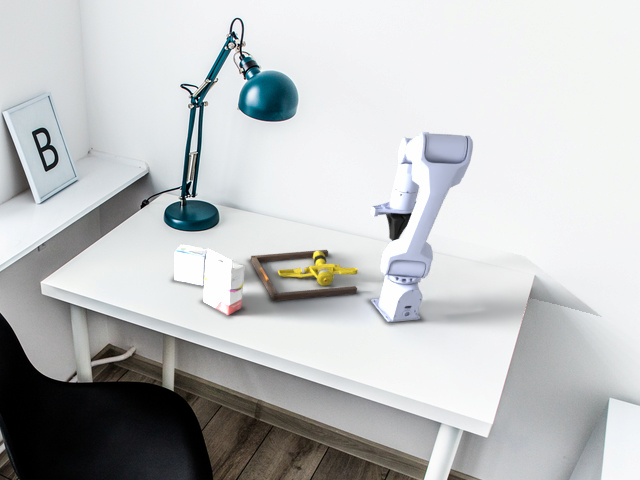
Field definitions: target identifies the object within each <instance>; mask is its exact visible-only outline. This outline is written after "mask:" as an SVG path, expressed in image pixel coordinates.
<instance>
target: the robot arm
mask: <svg viewBox="0 0 640 480" xmlns="http://www.w3.org/2000/svg"><path fill="white" fill-rule="evenodd" d="M473 150H474V141H473V139H472V138H471V136H470V135H461V134H449V133H430V132H429V131H421V132H420V133H419V134H417V135H416V136H415V137H414V138H409V137H406V136H404V137H403V138H402V139H401V141H400V144H399V148H398V153H397V159H398V160H397V161H398V165H397V170H396V174H395V179H394V183H393V187H392V191H391V196H390V200H389V201H388V202H385V203H381V204H377V205H371V209H370V214H371V216H373V217H375V218H376V217H379V216H384V215H385V216H386V220H387V223H388V235H389V236H388V239H390V240H391V241H390V242H388V245H387V246H386V247H385V249H384V250H383V251H382V255H381V260H380V273H382V275H383V276H384V279H383V283H382V287H381V292H380V295H379V298H372V299H371V303H372V304H373V306H374V307H375V308H376V309H377V310H378V312H379V313H380V314H381V315H382V317H383V319H384V320H385V321H386V322H388V323H394V322H404V321H415V320H417V321H418V320H420V319H421V316H420V314H419V311H420V308H421V304H422V301H423V293H422V291H421V290H420V287H419V283H421V280H422V279H426V277H427V276H428V275H430V274H429V273H430V271H431V267H432V262H433V260H434V253H433V248H432V244H430V243H429V242H427V241H428V238H429V235H430V233H431V231H432V229H433V226H434V224H435V222H436V219H437V217H438V215H439V212H440V210H441V208H442V206H443V204H444V201H445V200H446V197H447V196H448V193H449V191H450V189H451V188H453V187H455V186H457V185H459V184H460V183H461V182H462V179H463V178H464V176H465V174H466V172H467V170H468V168H469V166H470V163H471V159H472V155H473ZM419 189H420V192H419ZM418 193H419V194H418ZM403 232H404V233H403ZM402 234H403V236H402V237H401V235H402Z"/></svg>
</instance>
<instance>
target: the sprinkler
mask: <svg viewBox="0 0 640 480" xmlns="http://www.w3.org/2000/svg"><path fill="white" fill-rule="evenodd" d="M320 250H321V249H318V250H317V249H316V250H314V251H315V252H314V253H313V258H312V259H313V260H312V261H313V263H314V265H309V266H308V267H307V266H306V267H304V273H303V270H302V268H301V267H297V268H287V269H278V270H277V273H278V276H279V277H282V278H299V279H302V278H315V279H316V282H317V284H319V286H322V287H328V286H330V285H331V284H332V283H333V282H334V275H335V274H337V275H338V274H339V275H342V276H344V275H345V276H346V275H357V274H358V268H357V267H341V265H340V264H336V263H327V259H326V257H325V255H324V253H323V252H321V251H320Z"/></svg>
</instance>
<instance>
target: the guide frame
mask: <svg viewBox="0 0 640 480" xmlns="http://www.w3.org/2000/svg"><path fill="white" fill-rule="evenodd" d="M319 250H320V251H321V252H323V253H324V255H325V258H327V257H328V256H329V250H328V249H319ZM315 251H316V250H305V251H295V252H294V251H293V252H282V253H281V252H280V253H270V254H268V253H267V254H255V255H251V256H250V262H251V264H252V266H253V268H254V269H255V272H256V273H257V275H258V276H259V278H260V280H261V282H262V284H263V285H264V287H265V289H266V290H267V292H268V294H269V296H270V298H271V299H272V301H273V302H275V301H287V300H288V301H289V300H297V299H300V300H301V299H311V298H321V297H333V296H334V297H335V296H347V295H355V294H357V292H358V288H357V286H356V285H354V286H353V285H351V286H342V287H341V286H340V287H329V288H319V289H318V288H316V289H305V290H295V291H284V292H283V291H282V292H277V290H276V288H275V287H274V285H273V283H272V281H271V280H270V278H269V276H268V275H267V273H266V271H265V269H264V268H263V266H262V264H261V263H264V262H266V263H267V262H278V261H289V260H291V261H292V260H301V259H303V260H304V259H313V253H314V252H315Z"/></svg>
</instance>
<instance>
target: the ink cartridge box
mask: <svg viewBox="0 0 640 480" xmlns="http://www.w3.org/2000/svg"><path fill="white" fill-rule="evenodd" d="M207 249H208V250H207V258H206V264H205V283H204V285H203V303H205V304H207V305H209V306H211V307H212V308H214V309H216V310H217V311H220V312H221V313H223V314H225V315H226V316H230V315H231V314H233V313H235V312H237V311H238V310H241V309H242V301H243V292H244V291H243V290H244V279H245V265H243V264H241V263H239V262H237V261H235V260H234V259H231V258H229V257H226V256H225V255H223V254H220V253H218V252H216V251H214V250H212V249H210V248H207Z"/></svg>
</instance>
